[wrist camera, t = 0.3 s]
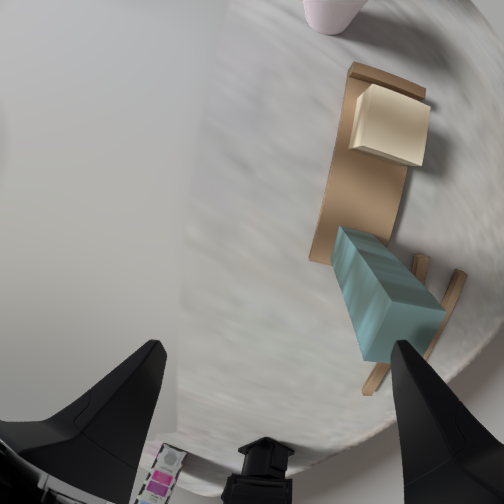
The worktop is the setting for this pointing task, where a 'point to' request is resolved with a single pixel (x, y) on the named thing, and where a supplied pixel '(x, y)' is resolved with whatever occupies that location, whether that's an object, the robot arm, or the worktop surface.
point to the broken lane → (448, 304)
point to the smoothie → (331, 14)
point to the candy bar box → (162, 476)
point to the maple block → (390, 126)
